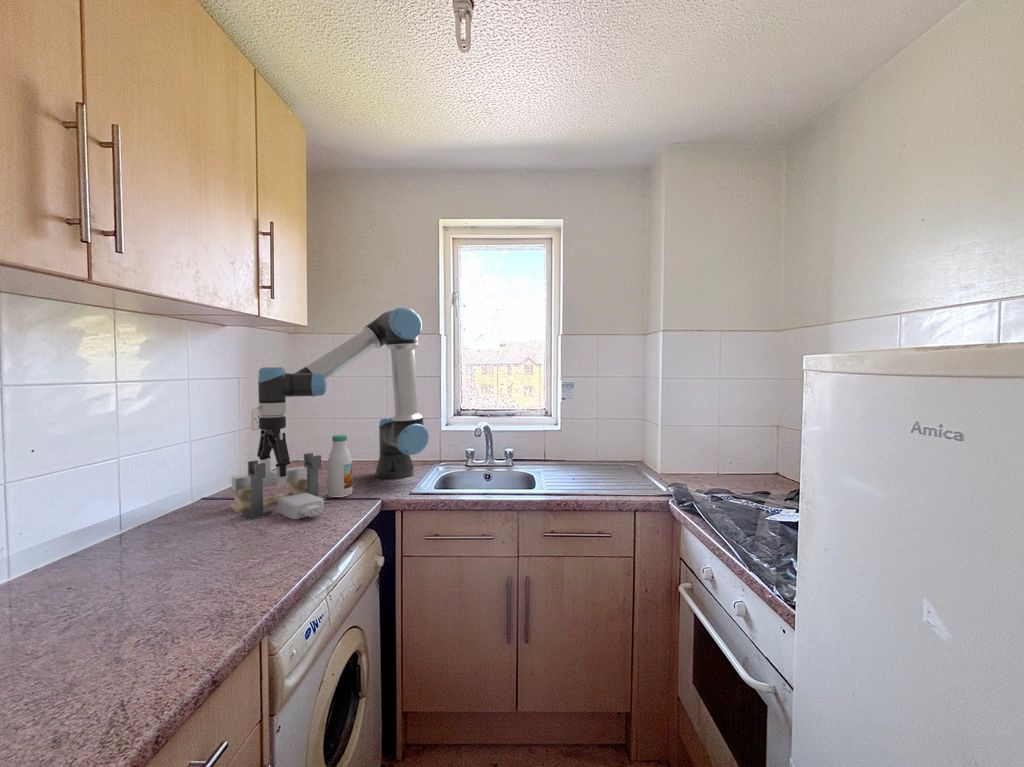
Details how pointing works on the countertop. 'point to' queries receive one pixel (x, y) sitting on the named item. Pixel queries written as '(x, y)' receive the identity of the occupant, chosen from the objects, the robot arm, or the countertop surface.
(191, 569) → the countertop surface
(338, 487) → the milk bottle
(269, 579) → the countertop surface
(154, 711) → the countertop surface
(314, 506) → the charger
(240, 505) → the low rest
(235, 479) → the rail
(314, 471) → the hook standards
